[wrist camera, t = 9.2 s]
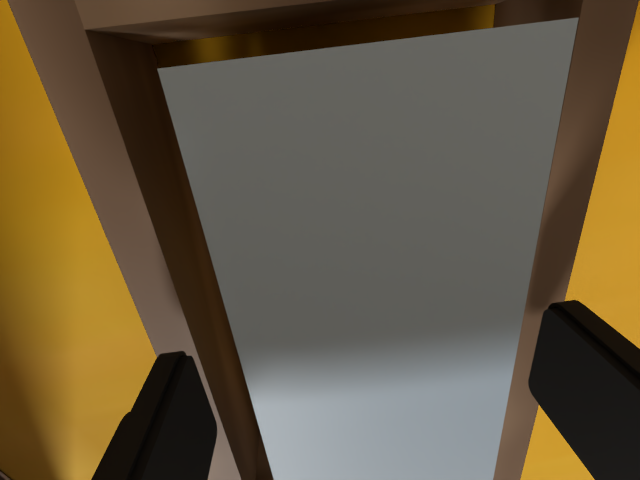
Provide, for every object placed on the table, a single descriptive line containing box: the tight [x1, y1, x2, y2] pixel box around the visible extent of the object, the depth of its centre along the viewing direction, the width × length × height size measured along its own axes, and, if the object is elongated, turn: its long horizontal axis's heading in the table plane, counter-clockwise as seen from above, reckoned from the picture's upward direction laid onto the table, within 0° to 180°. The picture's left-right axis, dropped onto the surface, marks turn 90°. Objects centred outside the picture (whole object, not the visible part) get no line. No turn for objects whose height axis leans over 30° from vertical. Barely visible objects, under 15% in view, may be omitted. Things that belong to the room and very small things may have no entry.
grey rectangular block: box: [157, 17, 579, 480], centre depth 9 cm, size 15×5×4 cm, turn 6°
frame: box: [8, 0, 639, 480], centre depth 12 cm, size 12×19×4 cm, turn 6°
